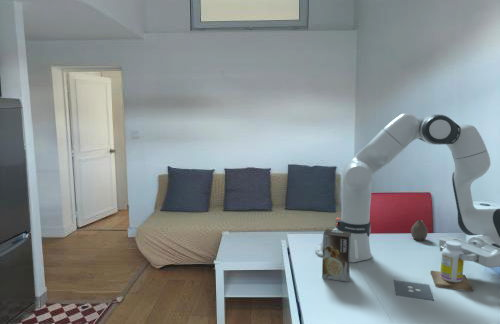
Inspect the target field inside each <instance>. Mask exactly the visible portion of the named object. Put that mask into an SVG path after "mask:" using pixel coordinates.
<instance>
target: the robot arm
mask: <svg viewBox="0 0 500 324" xmlns="http://www.w3.org/2000/svg"><path fill="white" fill-rule="evenodd" d="M417 139H418V140H420V141H422V142H425V143H426V144H429V145H438V146H439V145H446V146H447V147H448V149H449V150H450V152H451V156H452V159H453V162H454V172H453V173H452V176H451V182H452V183H451V184H452V188H453V194H454V199H455V203H456V209H457V224H458V227H459V229H460V230H461V231H462V232H463V233H464V234H466V235H468V236H472V237H470V238H469V239H468V240H465V239H461V238H459V237H453V236H449V237H440V238H439V240H438V241H439V242H438V247H439V252H442V250H443V249H445V248H446V242H447V241H455V242H459V243H461V249H460V250H461V251H462V252H463V253H464V254H460V257H459V259H460V260H463V261H464V262H465V261H467V262H473V263H475V264H479V265H481V266H483V267H485V268H497V267H498V268H500V208H481V209H480V208H476V207H475V206H474V203H473V202H474V201H473V196H472V192H471V186H472V183H474V181H475V180H477V179H480V178H481V177H483V176H484V175H485V174H486V173H488V171H489V168H490V167H491V158H490V154H489V152H488V150H487V146H486V144H485V141H484V139H483V138H482V135H481V134H480V132H479V131H478V129H477V128H476V127H475V125H471V124H461V125H459V124H457V122H455V121H454V120H453V119H452V118H450V117H449V116H447V115H444V114H431V115H427V116H425V117H421V118H420V119H419V118H417V116H415V115H413V114H411V113H407V112H404V113H401V114H400V115H399V114H398V116H397V117H395V118H394V119H392V120H391V121H389V123H388V124H386V125H385V126H384V127H383V128H382V129H381V130H380V131H379V132H378V133H377V134H376V135H375V136H374V137H373V138H372V139H371V140H370V141H369V142H367V144H366V145H365V146H364V147H363V148H361V149H360V150H359V151H358V152H357V153H356V154H355V155H353V157H352V158H351V159H349V160H348V161H347V162H346V163H345V164H344V167H343V171H342V172H343V173H342V191H341V193H342V194H341V196H342V197H341V215H340V216H341V217H336V218H335V227H334V228H333V229H332V230H338V231H346V232H351V242H350V263H358V262H361V261H367V260H369V259H371V258H372V257H373V255H372V251H371V246H370V235H371V226H372V225H371V221H370V217H371V216H370V215H371V212H370V211H371V201H372V200H371V199H372V192H373V180H374V178H373V177H374V176H375V174H377V173H378V172H379V171H380V170H382V169H383V168H385V167H386V166H387V165H389V164H390V163H391V162H392V161H393V160H394V159H395V158H396V157H397V156H398V155H399V154H401V153H402V152H403V150H405V148H407V147H408V146H409V145H410V144H411V143H412V142H414V141H416V140H417ZM315 254H316V256H320V257H323V238H322V239H321V243H319V244H317V246H316V247H315Z"/></svg>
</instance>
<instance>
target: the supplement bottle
mask: <svg viewBox="0 0 500 324" xmlns="http://www.w3.org/2000/svg"><path fill="white" fill-rule="evenodd" d="M460 249H461V243H459V242H455V241H447V242H446V248H445V249H443V250H442V251H441V258H440V259H441V261H440V272H441V274H440V276H441V278H442V279H444V280H446V281H449V282H456V283H457V282H461V281H462V276H463V275H464V262H465V261H463V260H460V259H459V257H460V254H464V253H463V252H462V251H461V250H460Z"/></svg>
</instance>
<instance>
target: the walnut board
mask: <svg viewBox="0 0 500 324" xmlns="http://www.w3.org/2000/svg"><path fill="white" fill-rule="evenodd" d="M440 274H441V271H437V270H430V275H431V279H432V280H433V283H434V286H435V287H438V288H446V289H453V290H461V291H466V292H468V291H469V292H473V291H474V287H473V286H472V285H471V283H470V280H469V279H468V278H467V276H466V274H463V276H462V281H461V282H457V283H456V282H449V281H446V280H444V279H442V278H441V276H440Z"/></svg>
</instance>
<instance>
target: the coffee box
mask: <svg viewBox="0 0 500 324" xmlns="http://www.w3.org/2000/svg"><path fill="white" fill-rule="evenodd" d="M322 239H323V256H322V266H321V267H322V268H321V269H322V270H321V271H322V273H321V275H322V276H321V278H322V279H327V280H335V281H339V282H340V281H341V282H346V283H348V282H349V281H350V277H351V275H350V272H351V271H350V268H351V267H350V266H351V262H350V242H351V232H346V231H338V230H333V229H330V228H329V229H328V228H326V229H325V230H324V231H323V234H322Z"/></svg>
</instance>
